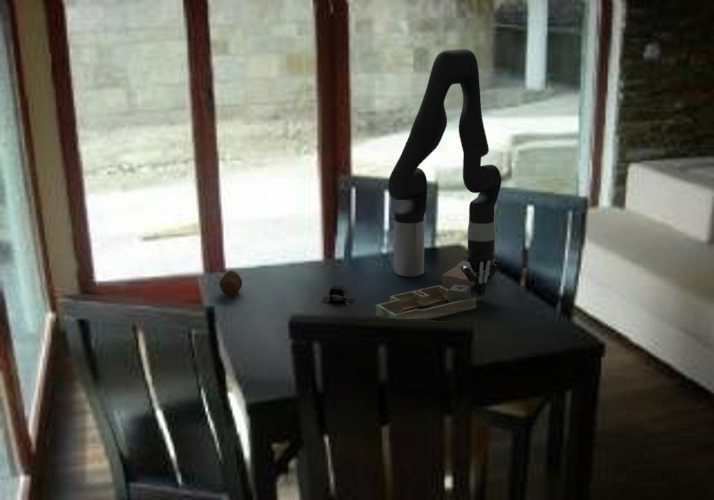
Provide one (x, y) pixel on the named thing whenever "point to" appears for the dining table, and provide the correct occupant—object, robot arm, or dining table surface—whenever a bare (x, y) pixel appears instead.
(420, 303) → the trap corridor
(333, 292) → the black hat
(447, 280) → the brick
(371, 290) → the dining table surface
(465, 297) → the dice cube
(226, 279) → the potato
